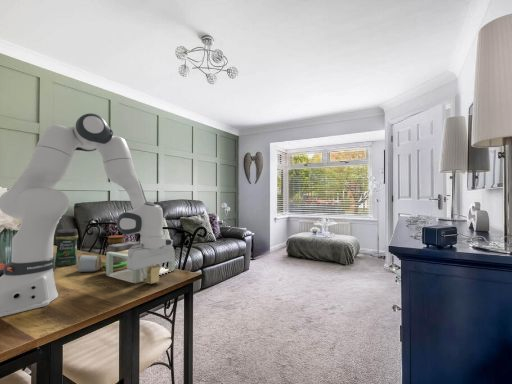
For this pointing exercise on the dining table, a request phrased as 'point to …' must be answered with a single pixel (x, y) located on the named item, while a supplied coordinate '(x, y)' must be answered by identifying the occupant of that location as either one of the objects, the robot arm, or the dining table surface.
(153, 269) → the block
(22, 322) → the dining table surface
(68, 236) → the coffee jar
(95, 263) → the ceramic mug
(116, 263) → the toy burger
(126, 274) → the frame
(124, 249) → the trapdoor plate
